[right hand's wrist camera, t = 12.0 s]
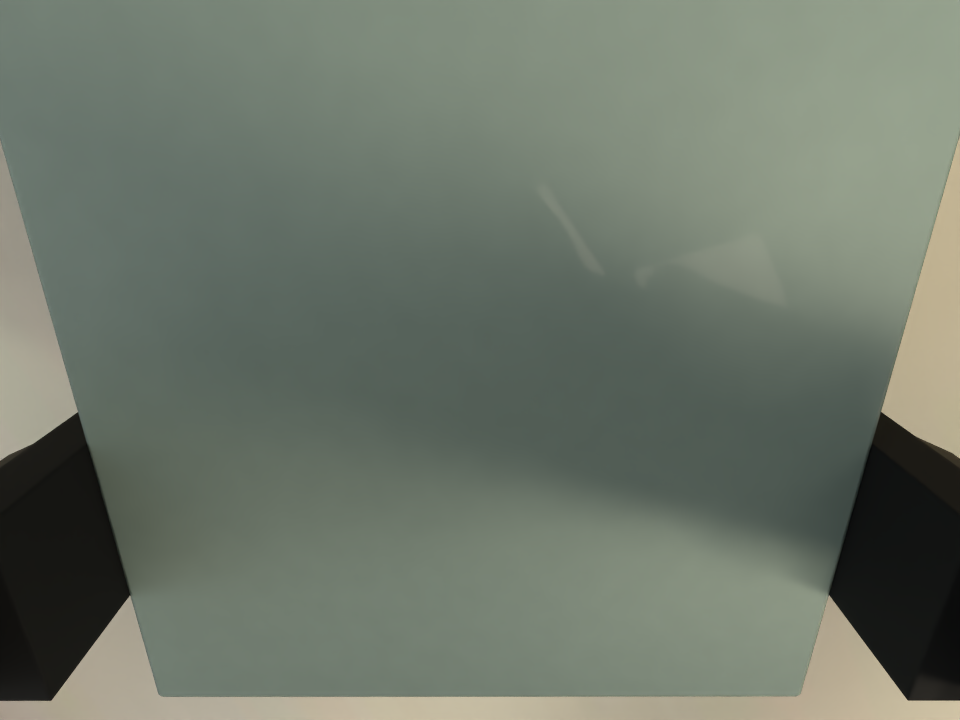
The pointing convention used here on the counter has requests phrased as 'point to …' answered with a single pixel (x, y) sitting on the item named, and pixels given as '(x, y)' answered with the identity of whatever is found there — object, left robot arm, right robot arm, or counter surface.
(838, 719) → the counter surface
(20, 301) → the counter surface
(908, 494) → the right robot arm
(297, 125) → the cabinet
